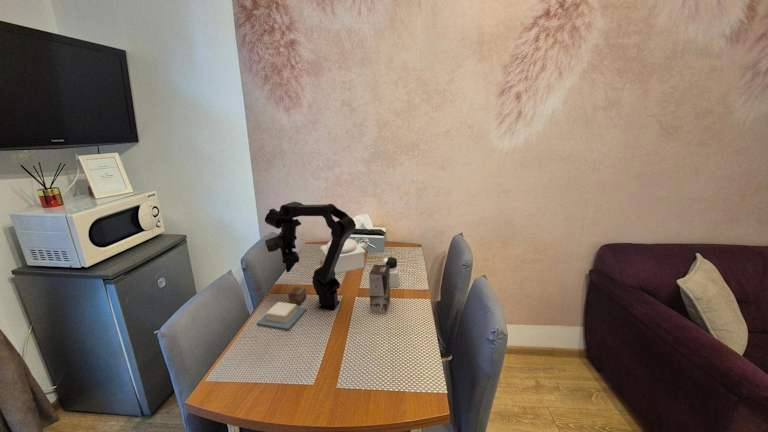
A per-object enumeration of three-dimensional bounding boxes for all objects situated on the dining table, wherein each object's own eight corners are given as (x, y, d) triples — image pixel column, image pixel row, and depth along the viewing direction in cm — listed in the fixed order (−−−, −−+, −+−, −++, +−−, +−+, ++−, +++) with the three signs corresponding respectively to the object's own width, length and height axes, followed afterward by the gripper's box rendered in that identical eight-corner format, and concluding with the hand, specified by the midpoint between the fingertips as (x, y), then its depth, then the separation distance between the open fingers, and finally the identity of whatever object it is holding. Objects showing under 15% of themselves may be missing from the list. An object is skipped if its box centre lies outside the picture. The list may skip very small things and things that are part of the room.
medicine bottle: (398, 279, 149) (398, 255, 146) (397, 287, 142) (397, 262, 139) (383, 279, 150) (382, 255, 146) (381, 287, 143) (380, 262, 140)
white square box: (321, 261, 170) (319, 232, 166) (354, 255, 178) (352, 227, 173) (330, 275, 155) (328, 244, 151) (366, 267, 162) (364, 237, 158)
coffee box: (386, 314, 123) (385, 275, 119) (369, 312, 125) (368, 274, 120) (390, 301, 132) (390, 264, 127) (375, 299, 133) (374, 263, 129)
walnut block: (306, 298, 135) (305, 288, 134) (300, 305, 131) (299, 294, 129) (295, 297, 137) (294, 286, 135) (289, 303, 132) (288, 292, 131)
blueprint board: (306, 310, 127) (305, 301, 126) (288, 331, 115) (287, 321, 114) (277, 306, 130) (276, 297, 129) (256, 325, 118) (255, 315, 117)
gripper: (264, 222, 134) (262, 255, 140) (270, 245, 119) (268, 280, 125) (292, 222, 139) (289, 253, 145) (301, 243, 124) (297, 278, 130)
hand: (285, 265), depth 136 cm, fingers open, 9 cm apart
